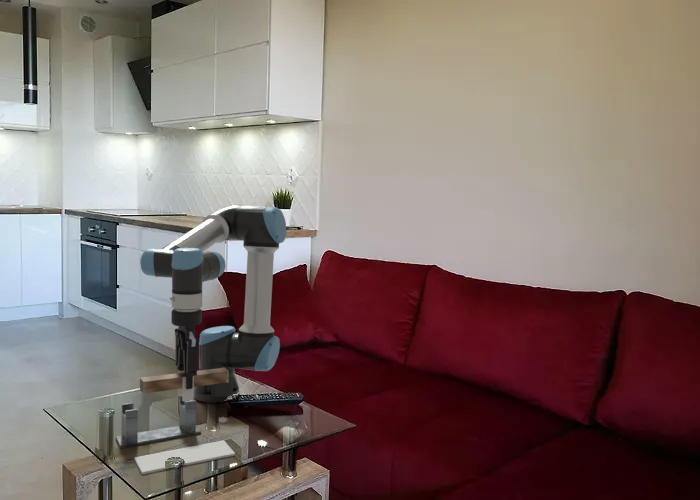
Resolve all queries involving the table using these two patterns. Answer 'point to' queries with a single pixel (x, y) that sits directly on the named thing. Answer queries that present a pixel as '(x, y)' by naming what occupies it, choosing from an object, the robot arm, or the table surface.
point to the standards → (134, 438)
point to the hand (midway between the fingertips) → (185, 397)
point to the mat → (184, 456)
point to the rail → (175, 380)
